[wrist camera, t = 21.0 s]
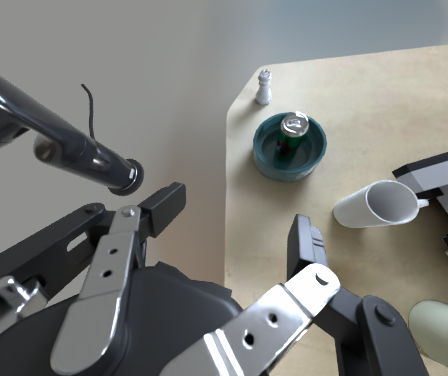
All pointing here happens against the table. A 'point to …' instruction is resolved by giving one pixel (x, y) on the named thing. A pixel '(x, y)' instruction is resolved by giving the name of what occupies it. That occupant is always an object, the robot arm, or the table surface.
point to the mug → (379, 205)
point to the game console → (427, 179)
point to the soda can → (290, 136)
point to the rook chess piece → (264, 88)
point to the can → (431, 329)
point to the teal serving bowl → (304, 159)
